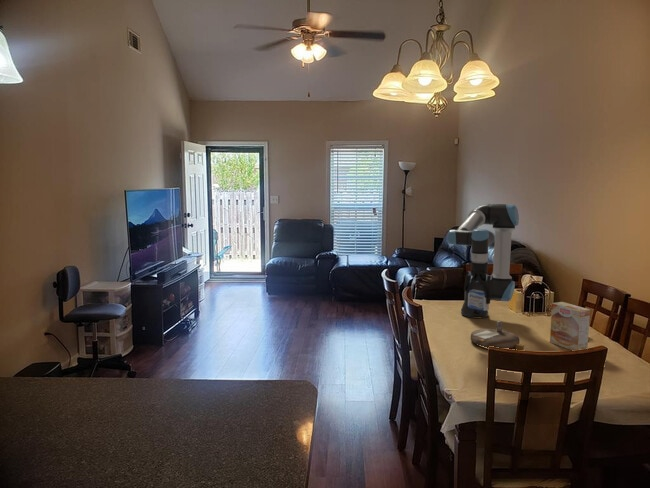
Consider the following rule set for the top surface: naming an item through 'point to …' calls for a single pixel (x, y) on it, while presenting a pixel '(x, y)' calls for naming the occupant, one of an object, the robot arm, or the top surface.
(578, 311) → the coffeecake box
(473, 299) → the medicine box
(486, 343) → the index dial
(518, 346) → the dial base
